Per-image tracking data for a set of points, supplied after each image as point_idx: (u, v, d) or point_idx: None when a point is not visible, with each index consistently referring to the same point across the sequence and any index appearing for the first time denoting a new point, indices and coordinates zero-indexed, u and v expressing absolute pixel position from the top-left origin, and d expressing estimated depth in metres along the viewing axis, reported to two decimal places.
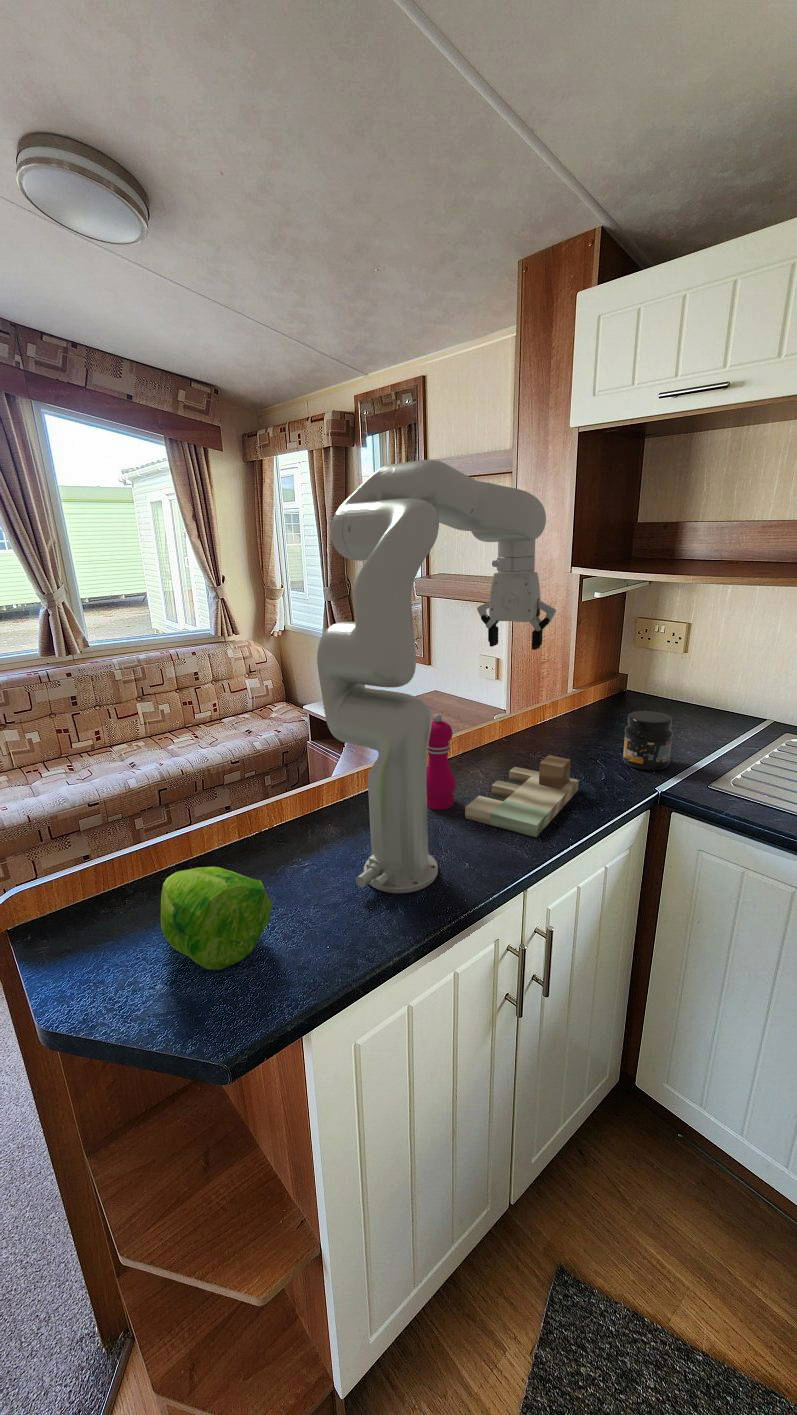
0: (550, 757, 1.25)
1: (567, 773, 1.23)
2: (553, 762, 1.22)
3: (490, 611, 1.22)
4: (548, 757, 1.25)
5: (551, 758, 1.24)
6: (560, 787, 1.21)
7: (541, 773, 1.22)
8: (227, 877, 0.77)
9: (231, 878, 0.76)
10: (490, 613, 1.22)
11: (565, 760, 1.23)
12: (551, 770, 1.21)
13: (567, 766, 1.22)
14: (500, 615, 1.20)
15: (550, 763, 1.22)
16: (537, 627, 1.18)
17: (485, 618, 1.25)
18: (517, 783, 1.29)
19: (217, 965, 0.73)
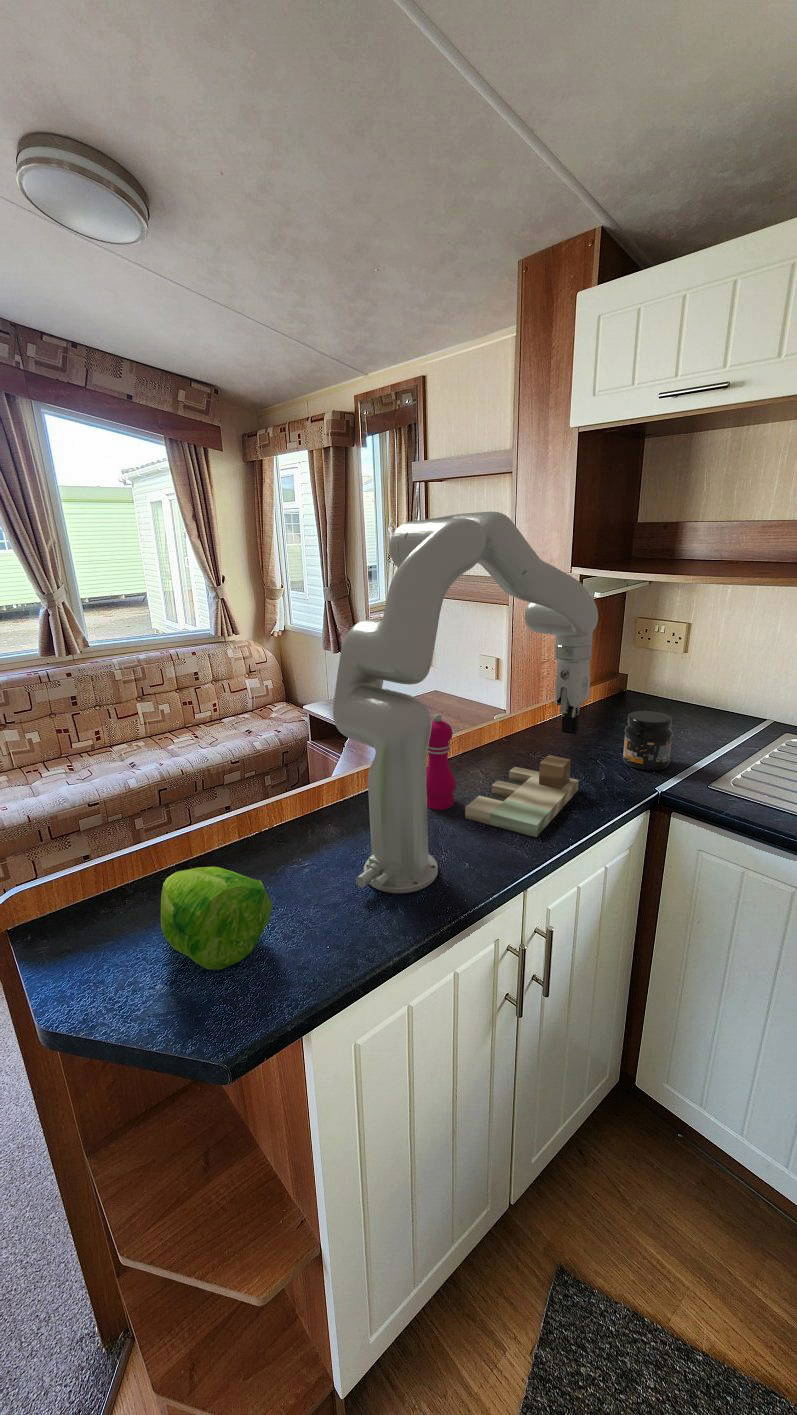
0: (550, 757, 1.25)
1: (567, 773, 1.23)
2: (553, 762, 1.22)
3: (576, 700, 1.20)
4: (548, 757, 1.25)
5: (551, 758, 1.24)
6: (560, 787, 1.21)
7: (541, 773, 1.22)
8: (227, 877, 0.77)
9: (231, 878, 0.76)
10: (576, 702, 1.20)
11: (565, 760, 1.23)
12: (551, 770, 1.21)
13: (567, 766, 1.22)
14: (580, 700, 1.22)
15: (550, 763, 1.22)
16: (577, 711, 1.27)
17: None
18: (517, 783, 1.29)
19: (217, 965, 0.73)
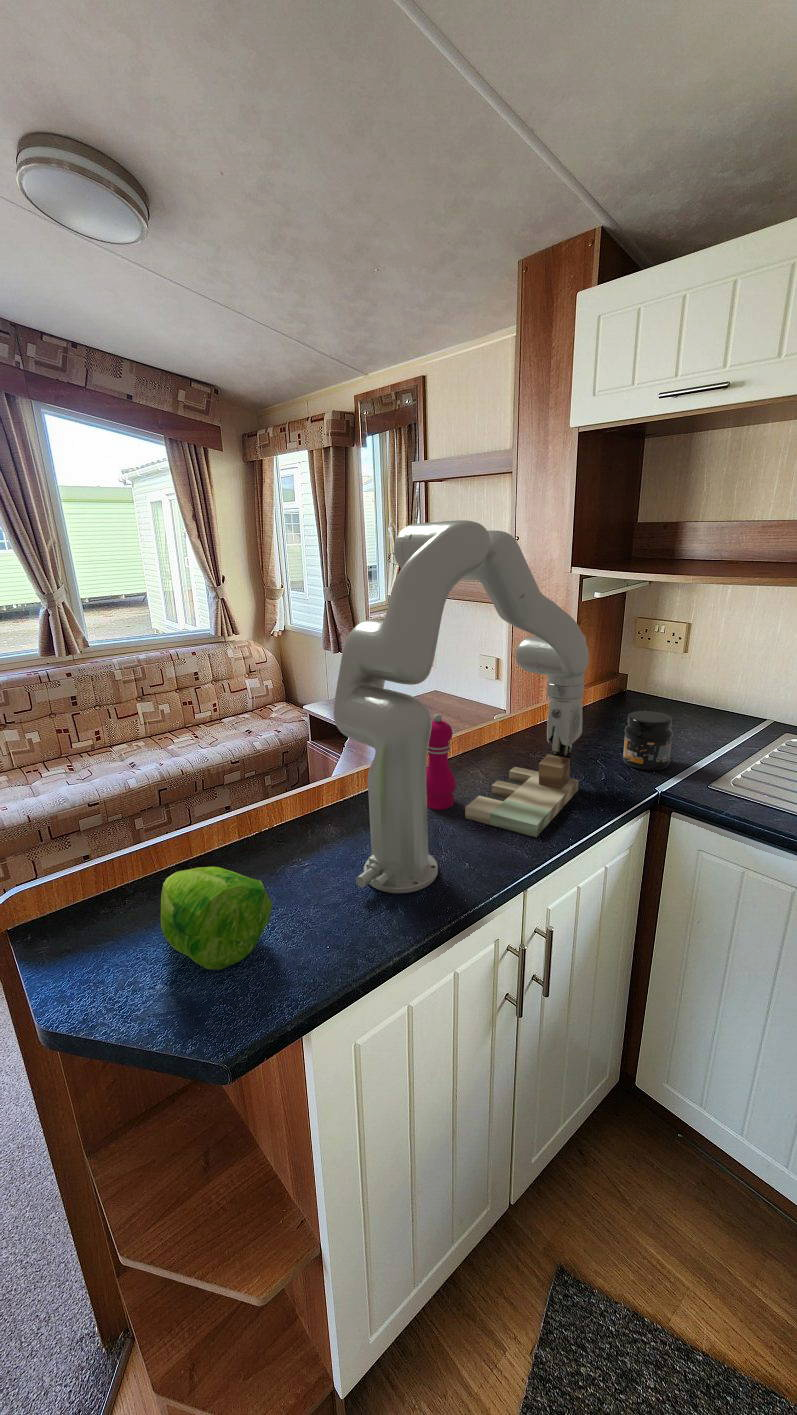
0: (549, 756, 1.24)
1: (567, 772, 1.22)
2: (552, 762, 1.21)
3: (568, 739, 1.19)
4: (547, 756, 1.24)
5: (550, 757, 1.24)
6: (560, 787, 1.21)
7: (541, 773, 1.22)
8: (227, 877, 0.77)
9: (231, 878, 0.76)
10: (568, 741, 1.20)
11: (564, 759, 1.22)
12: (550, 771, 1.21)
13: (566, 766, 1.21)
14: (572, 739, 1.21)
15: (549, 763, 1.21)
16: (569, 748, 1.26)
17: None
18: (517, 783, 1.29)
19: (217, 965, 0.73)
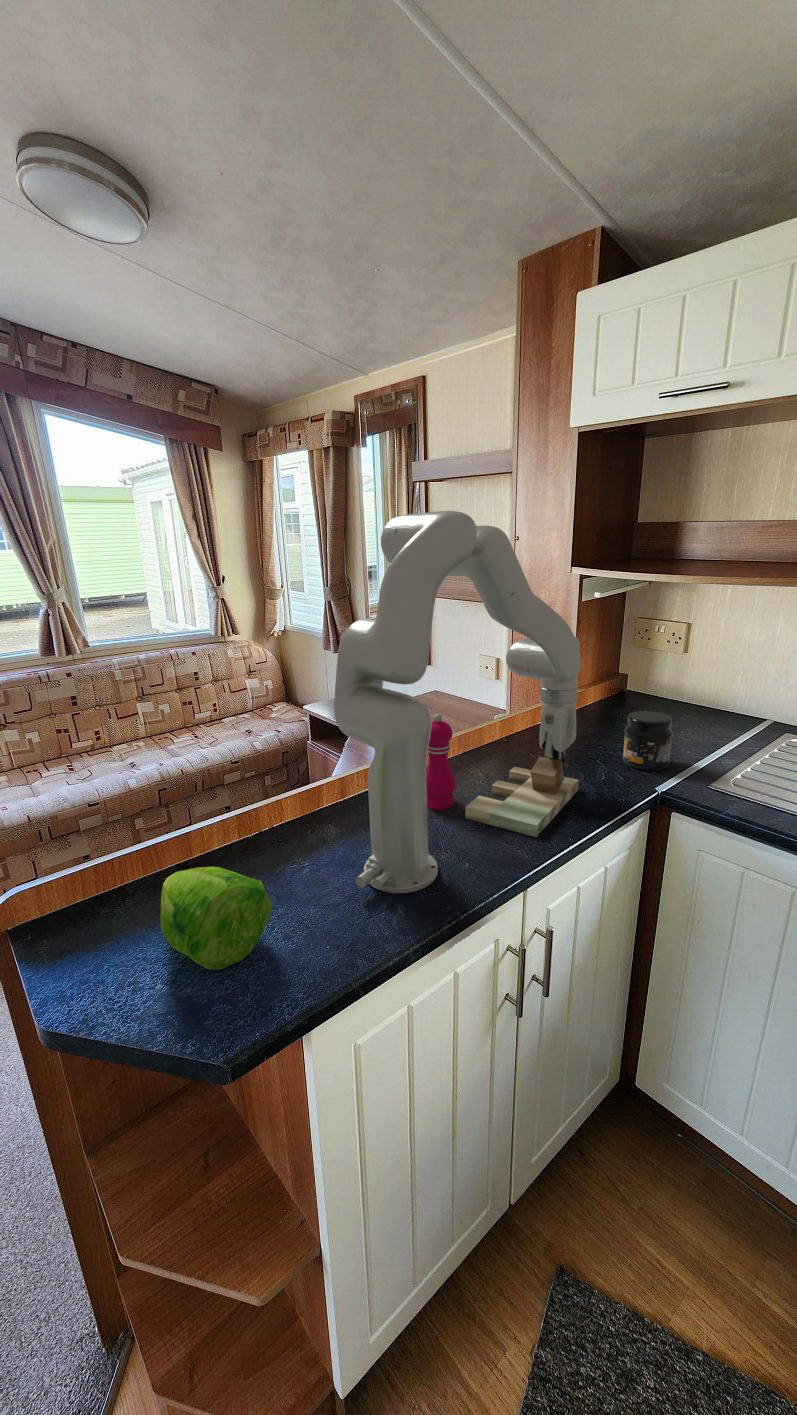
0: (541, 760, 1.20)
1: (560, 775, 1.19)
2: (544, 768, 1.18)
3: (561, 745, 1.16)
4: (539, 760, 1.21)
5: (542, 761, 1.20)
6: (554, 793, 1.18)
7: (533, 780, 1.19)
8: (227, 877, 0.77)
9: (231, 878, 0.76)
10: (561, 747, 1.16)
11: (557, 763, 1.18)
12: (543, 778, 1.18)
13: (559, 770, 1.18)
14: (566, 745, 1.18)
15: (541, 770, 1.18)
16: (563, 754, 1.23)
17: (556, 753, 1.20)
18: (517, 783, 1.29)
19: (217, 965, 0.73)
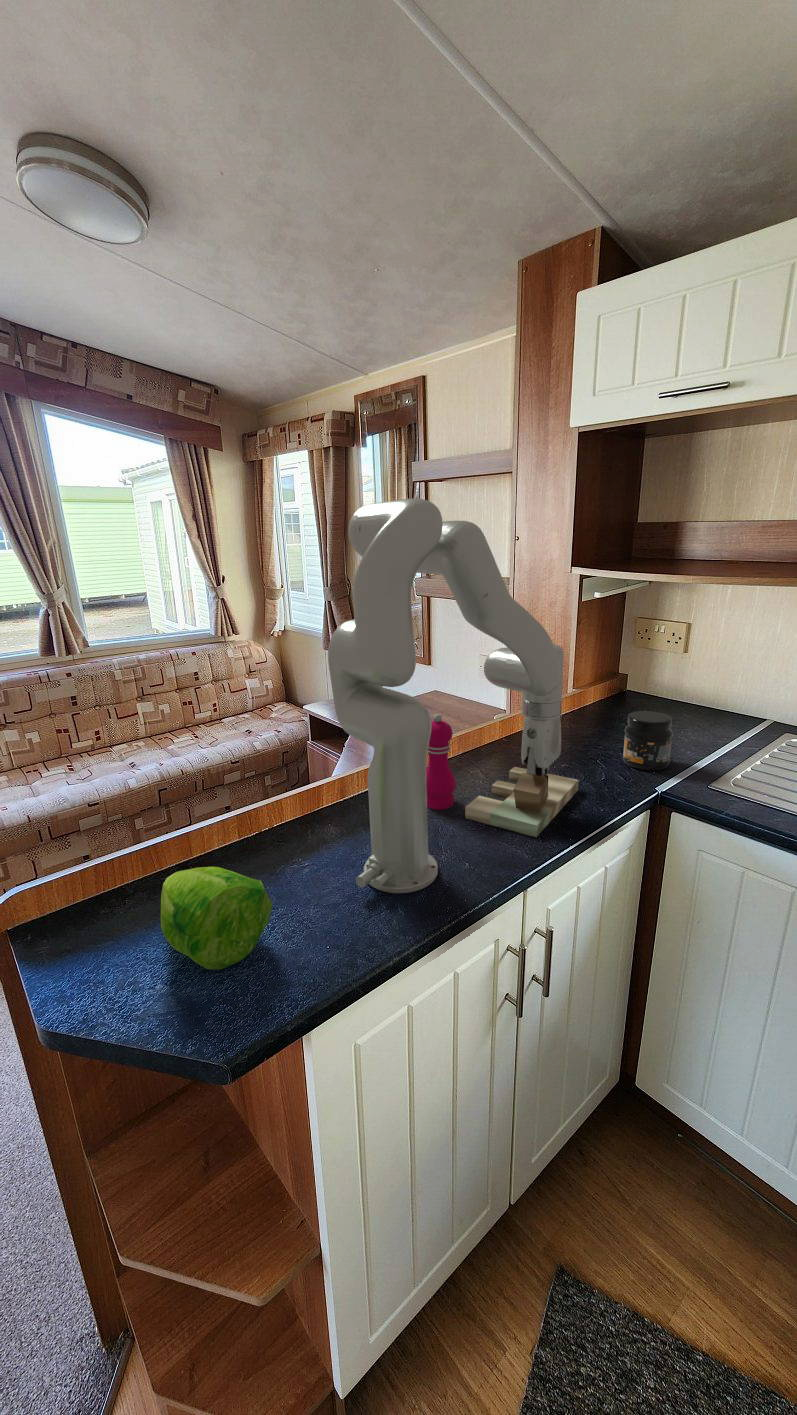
0: (524, 776, 1.13)
1: (545, 792, 1.12)
2: (528, 785, 1.10)
3: (544, 761, 1.09)
4: (522, 776, 1.13)
5: (525, 778, 1.12)
6: (539, 811, 1.11)
7: (517, 798, 1.12)
8: (227, 877, 0.77)
9: (231, 878, 0.76)
10: (544, 763, 1.09)
11: (541, 779, 1.11)
12: (527, 796, 1.10)
13: (544, 786, 1.11)
14: (549, 761, 1.11)
15: (524, 787, 1.10)
16: None
17: None
18: None
19: (217, 965, 0.73)
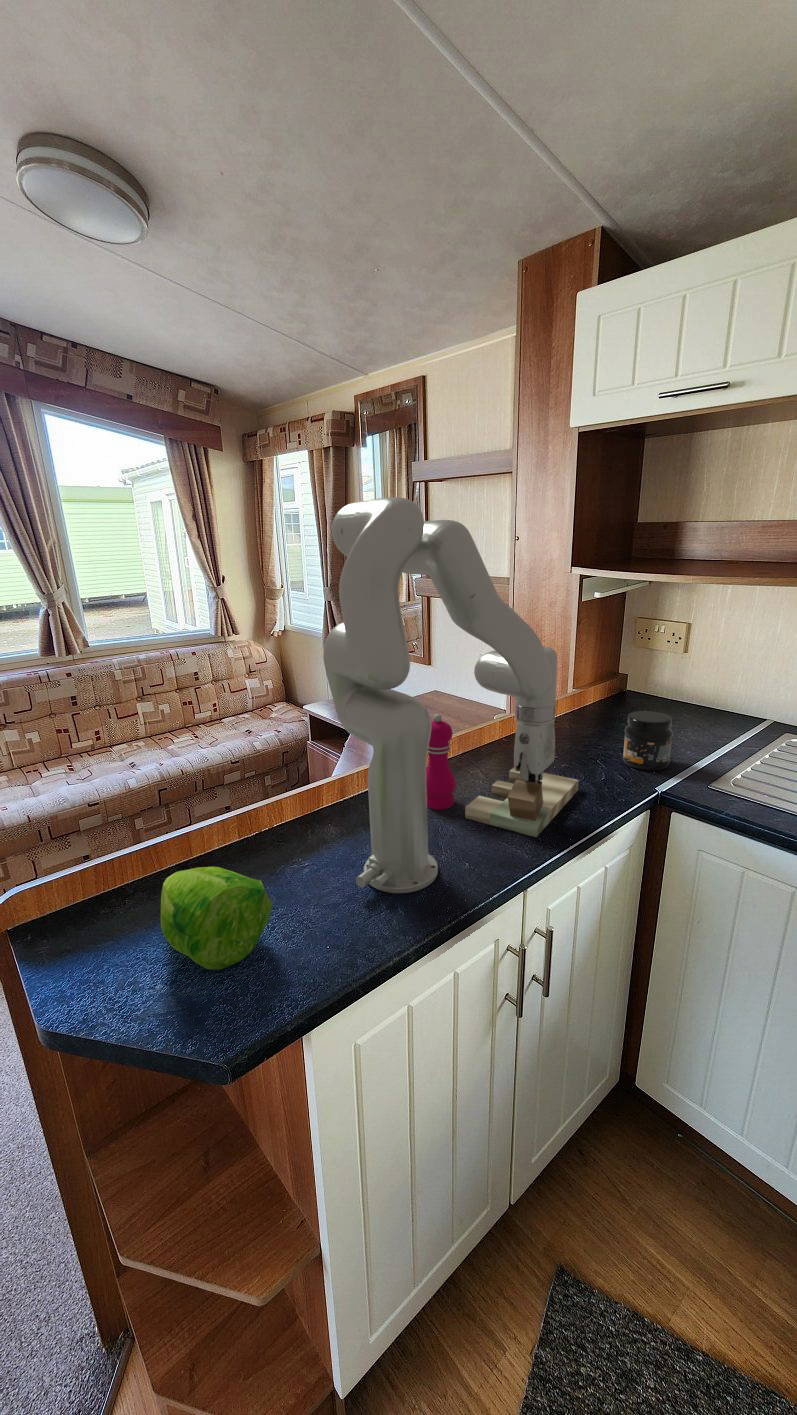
0: (519, 783, 1.10)
1: (540, 799, 1.09)
2: (522, 793, 1.07)
3: (537, 767, 1.06)
4: (516, 783, 1.10)
5: (520, 785, 1.09)
6: (534, 819, 1.08)
7: (511, 806, 1.08)
8: (227, 877, 0.77)
9: (231, 878, 0.76)
10: (537, 769, 1.06)
11: (536, 786, 1.08)
12: (521, 804, 1.07)
13: (539, 794, 1.08)
14: (543, 767, 1.08)
15: (519, 795, 1.07)
16: (540, 776, 1.13)
17: (532, 776, 1.10)
18: None
19: (217, 965, 0.73)
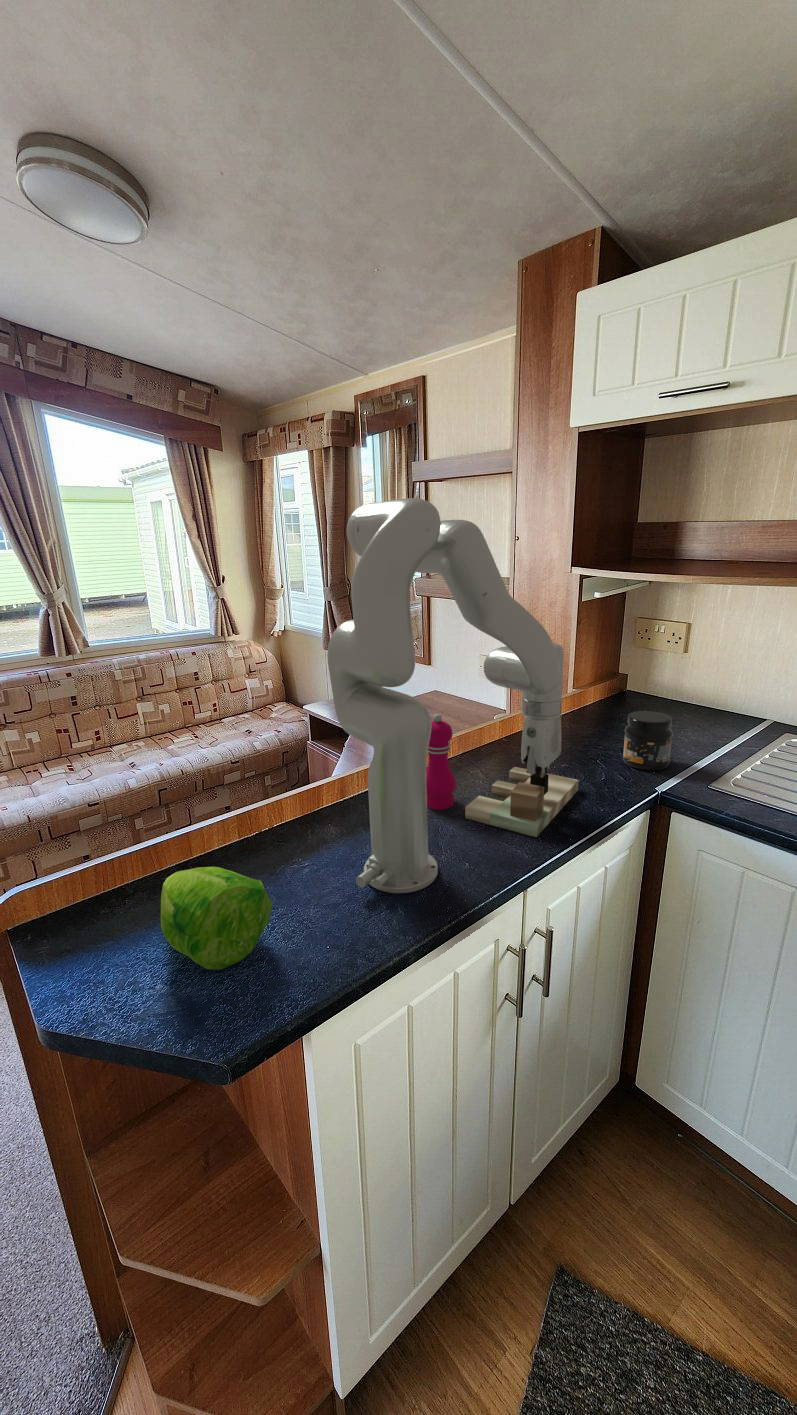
0: (522, 784, 1.12)
1: (541, 802, 1.10)
2: (525, 791, 1.09)
3: (544, 760, 1.09)
4: (519, 784, 1.12)
5: (523, 786, 1.11)
6: (534, 819, 1.08)
7: (513, 803, 1.09)
8: (227, 877, 0.77)
9: (231, 878, 0.76)
10: (544, 762, 1.09)
11: (538, 788, 1.10)
12: (524, 800, 1.08)
13: (541, 794, 1.09)
14: (549, 760, 1.11)
15: (522, 791, 1.09)
16: (547, 769, 1.15)
17: None
18: (517, 783, 1.29)
19: (217, 965, 0.73)
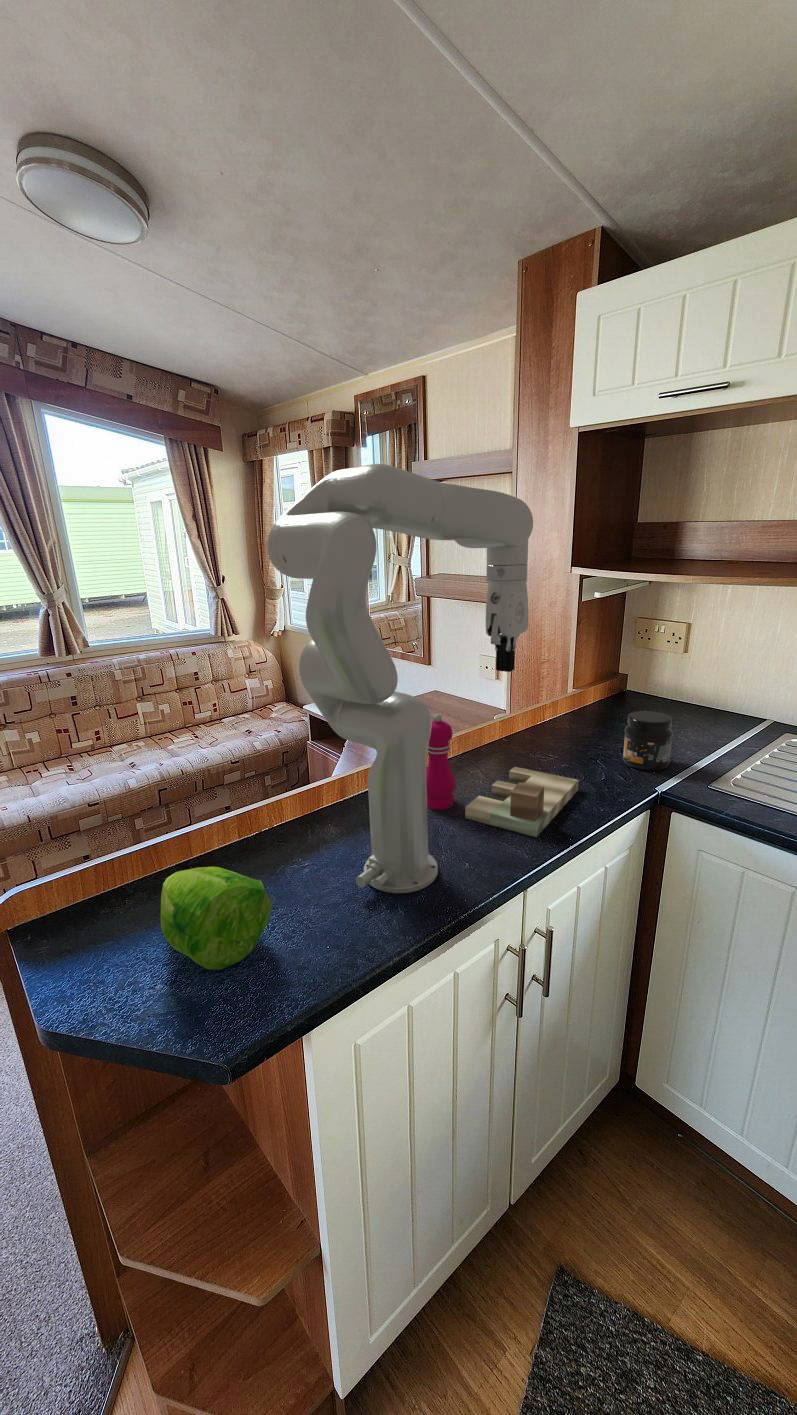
0: (522, 784, 1.12)
1: (541, 802, 1.10)
2: (525, 791, 1.09)
3: (508, 628, 1.04)
4: (519, 784, 1.12)
5: (523, 786, 1.11)
6: (534, 819, 1.08)
7: (513, 803, 1.09)
8: (227, 877, 0.77)
9: (231, 878, 0.76)
10: (508, 630, 1.04)
11: (538, 788, 1.10)
12: (524, 800, 1.08)
13: (541, 794, 1.09)
14: (514, 630, 1.06)
15: (522, 791, 1.09)
16: (513, 645, 1.11)
17: (504, 642, 1.08)
18: (517, 783, 1.29)
19: (217, 965, 0.73)
